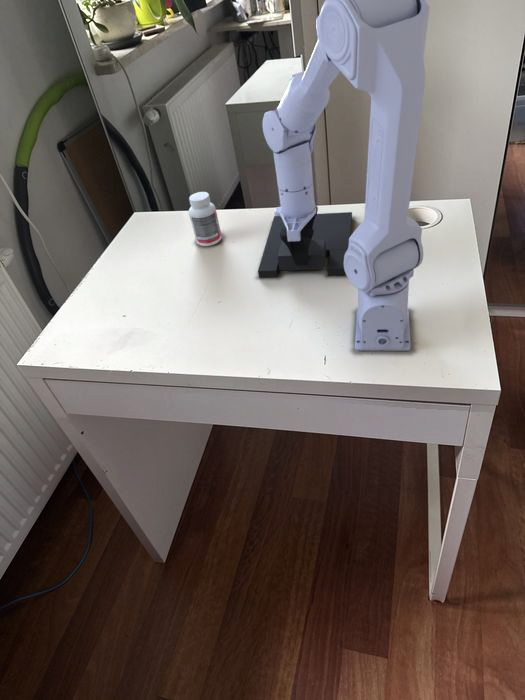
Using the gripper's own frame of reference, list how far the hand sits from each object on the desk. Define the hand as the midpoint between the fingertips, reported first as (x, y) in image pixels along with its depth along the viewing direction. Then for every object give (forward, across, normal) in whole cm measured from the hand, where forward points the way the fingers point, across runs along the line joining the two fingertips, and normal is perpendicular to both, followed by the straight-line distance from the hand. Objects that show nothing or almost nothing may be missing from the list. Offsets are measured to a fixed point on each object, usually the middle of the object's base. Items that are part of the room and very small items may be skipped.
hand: (303, 255), depth 94 cm
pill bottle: (+3, -11, -21) cm, 24 cm away
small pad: (+1, 0, 0) cm, 1 cm away
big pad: (+2, -7, 0) cm, 7 cm away
